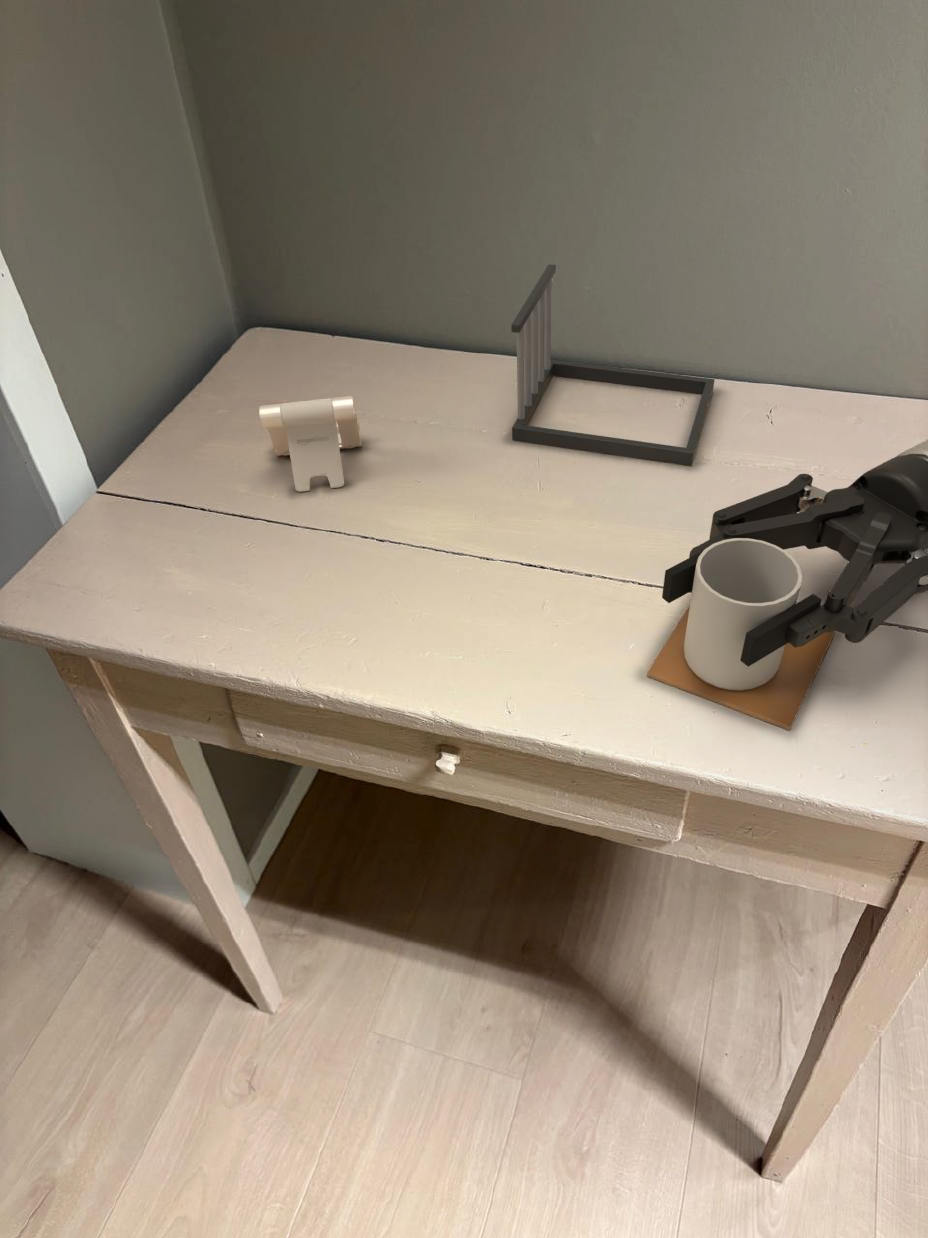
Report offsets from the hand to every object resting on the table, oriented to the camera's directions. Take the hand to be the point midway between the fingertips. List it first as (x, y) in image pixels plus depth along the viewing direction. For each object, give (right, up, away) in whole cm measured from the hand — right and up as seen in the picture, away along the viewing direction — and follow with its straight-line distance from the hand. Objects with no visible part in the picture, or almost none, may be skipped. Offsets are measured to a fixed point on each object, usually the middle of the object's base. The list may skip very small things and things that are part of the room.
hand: (706, 617), depth 68 cm
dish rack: (-1, +21, +32) cm, 38 cm away
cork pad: (+4, -3, +7) cm, 8 cm away
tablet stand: (-31, +15, +28) cm, 45 cm away
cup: (+4, -2, +7) cm, 8 cm away
